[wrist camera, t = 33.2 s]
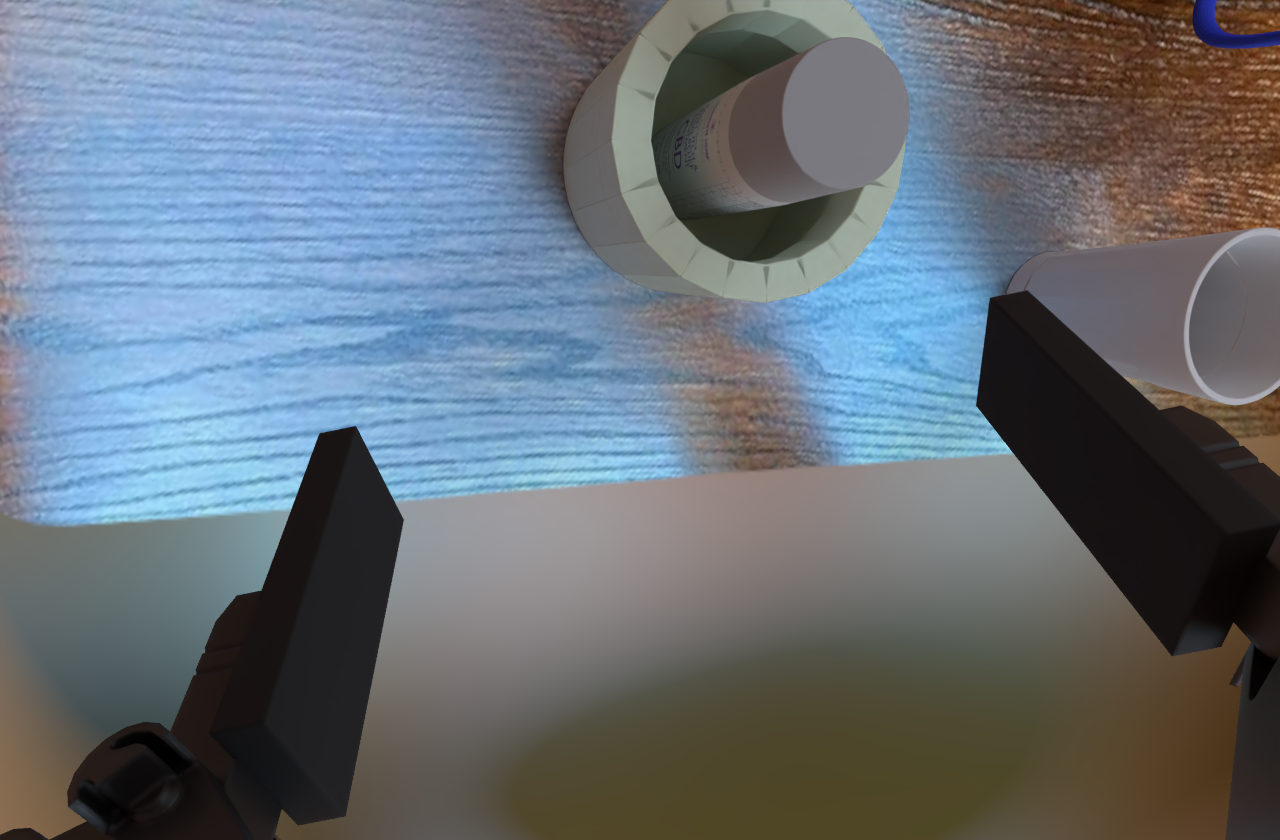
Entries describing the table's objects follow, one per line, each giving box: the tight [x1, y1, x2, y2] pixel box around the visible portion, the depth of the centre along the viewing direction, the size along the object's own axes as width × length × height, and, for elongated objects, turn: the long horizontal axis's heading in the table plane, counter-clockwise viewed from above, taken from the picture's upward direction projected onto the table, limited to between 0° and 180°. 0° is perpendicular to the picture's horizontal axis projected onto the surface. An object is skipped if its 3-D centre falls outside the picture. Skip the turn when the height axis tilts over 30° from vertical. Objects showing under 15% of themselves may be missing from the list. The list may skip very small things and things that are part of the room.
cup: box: [1006, 228, 1280, 405], centre depth 40 cm, size 8×8×12 cm
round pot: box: [563, 0, 906, 303], centre depth 34 cm, size 12×12×10 cm
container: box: [651, 37, 909, 220], centre depth 30 cm, size 5×5×15 cm
